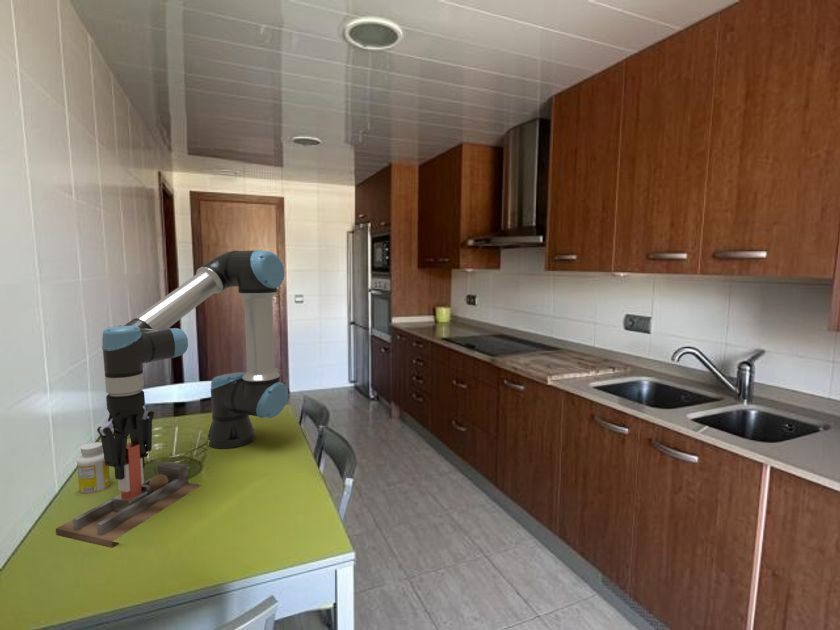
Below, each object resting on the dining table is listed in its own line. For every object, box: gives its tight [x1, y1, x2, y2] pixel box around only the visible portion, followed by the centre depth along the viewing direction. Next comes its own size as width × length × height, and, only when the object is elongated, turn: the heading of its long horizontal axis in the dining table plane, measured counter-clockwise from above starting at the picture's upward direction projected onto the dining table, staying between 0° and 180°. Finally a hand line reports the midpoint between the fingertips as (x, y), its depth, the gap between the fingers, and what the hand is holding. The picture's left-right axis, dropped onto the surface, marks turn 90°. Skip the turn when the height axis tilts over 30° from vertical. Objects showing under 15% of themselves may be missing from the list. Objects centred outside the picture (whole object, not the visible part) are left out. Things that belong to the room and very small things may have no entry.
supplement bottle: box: [76, 441, 111, 494], centre depth 118 cm, size 7×7×13 cm
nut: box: [149, 474, 169, 492], centre depth 117 cm, size 4×4×4 cm
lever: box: [111, 442, 151, 511], centre depth 108 cm, size 6×5×15 cm
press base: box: [55, 461, 202, 549], centre depth 110 cm, size 26×16×6 cm, turn 164°
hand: (131, 486), depth 109 cm, fingers closed on lever, 3 cm apart
